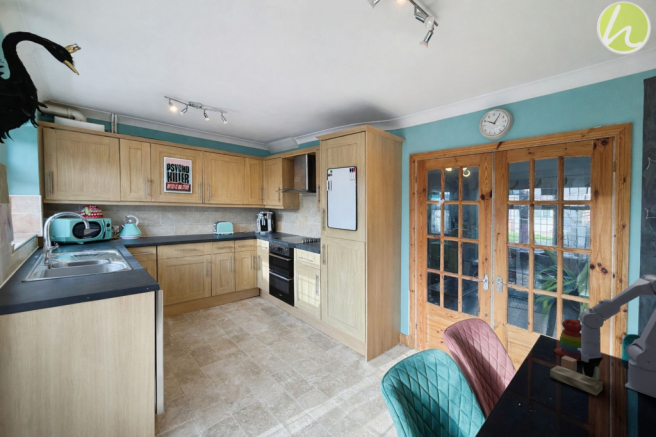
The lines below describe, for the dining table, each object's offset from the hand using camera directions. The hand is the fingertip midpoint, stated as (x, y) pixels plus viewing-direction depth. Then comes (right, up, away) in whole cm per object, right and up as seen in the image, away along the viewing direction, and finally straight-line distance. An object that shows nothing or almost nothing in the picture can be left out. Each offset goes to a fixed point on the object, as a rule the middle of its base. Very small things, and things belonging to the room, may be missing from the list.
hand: (590, 374), depth 112 cm
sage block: (0, -1, 0) cm, 1 cm away
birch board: (-10, -1, -4) cm, 10 cm away
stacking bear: (+9, -2, +18) cm, 20 cm away
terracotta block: (-4, -2, +6) cm, 7 cm away
